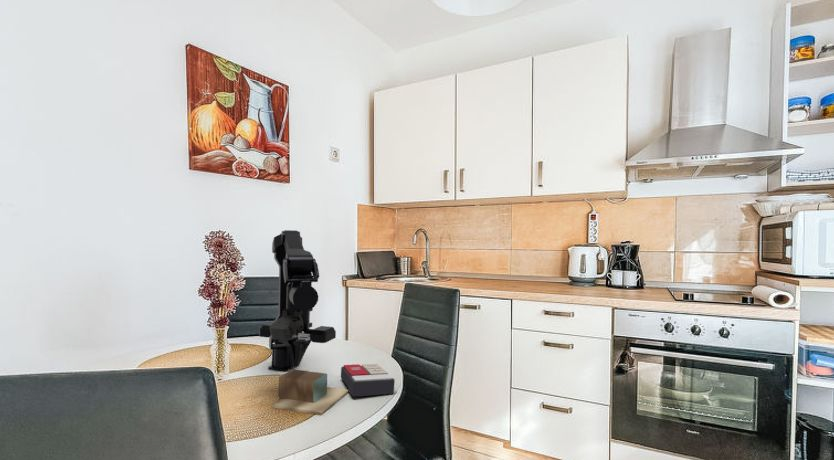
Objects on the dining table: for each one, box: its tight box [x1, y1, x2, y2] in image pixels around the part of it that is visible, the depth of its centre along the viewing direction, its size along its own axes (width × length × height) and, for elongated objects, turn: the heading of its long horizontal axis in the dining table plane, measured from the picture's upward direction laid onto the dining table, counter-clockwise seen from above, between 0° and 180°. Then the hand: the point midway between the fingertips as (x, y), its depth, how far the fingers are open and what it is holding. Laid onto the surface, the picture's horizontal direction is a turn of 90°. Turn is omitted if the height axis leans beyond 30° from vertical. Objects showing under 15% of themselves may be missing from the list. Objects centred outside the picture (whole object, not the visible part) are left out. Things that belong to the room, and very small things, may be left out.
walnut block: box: [277, 368, 328, 403], centre depth 96 cm, size 5×6×10 cm
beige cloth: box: [271, 386, 350, 416], centre depth 95 cm, size 13×14×1 cm
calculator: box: [340, 363, 395, 398], centre depth 104 cm, size 11×4×15 cm
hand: (296, 366), depth 96 cm, fingers closed
